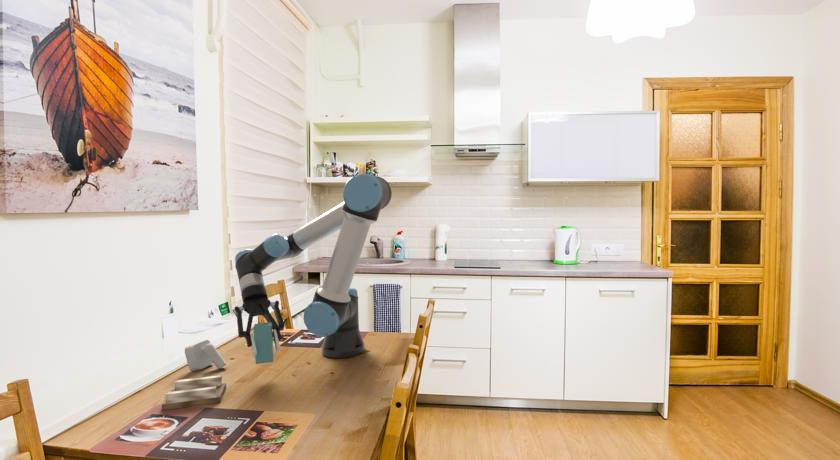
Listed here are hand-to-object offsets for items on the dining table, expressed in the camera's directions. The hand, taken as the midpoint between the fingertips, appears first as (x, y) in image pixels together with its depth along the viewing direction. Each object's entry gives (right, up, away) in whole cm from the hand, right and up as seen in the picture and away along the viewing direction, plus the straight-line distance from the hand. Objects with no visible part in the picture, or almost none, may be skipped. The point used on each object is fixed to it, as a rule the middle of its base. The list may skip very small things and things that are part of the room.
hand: (266, 352), depth 130 cm
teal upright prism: (-2, -3, +3) cm, 5 cm away
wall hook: (-24, -10, +15) cm, 30 cm away
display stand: (-17, -10, -9) cm, 21 cm away
